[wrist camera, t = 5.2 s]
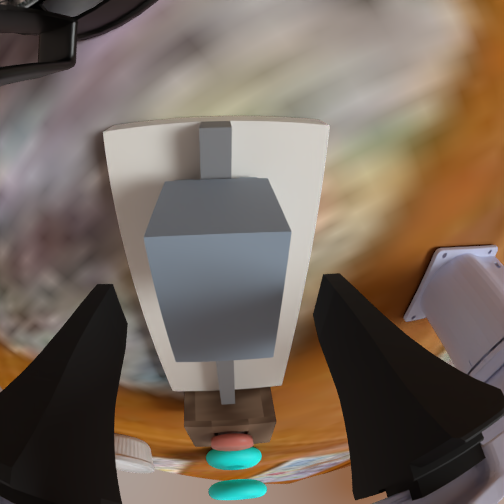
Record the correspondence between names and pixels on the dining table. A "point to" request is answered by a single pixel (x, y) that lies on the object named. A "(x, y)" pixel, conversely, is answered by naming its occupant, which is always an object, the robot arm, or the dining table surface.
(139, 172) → the rail
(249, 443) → the button
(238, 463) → the donuts
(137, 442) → the ramekin
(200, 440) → the cabinet
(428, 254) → the dining table surface
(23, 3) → the french press
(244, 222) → the carriage
